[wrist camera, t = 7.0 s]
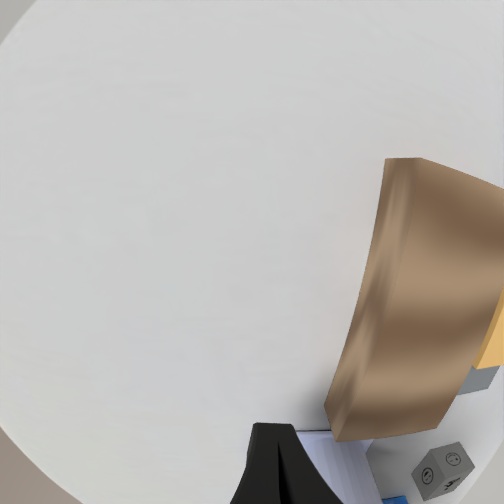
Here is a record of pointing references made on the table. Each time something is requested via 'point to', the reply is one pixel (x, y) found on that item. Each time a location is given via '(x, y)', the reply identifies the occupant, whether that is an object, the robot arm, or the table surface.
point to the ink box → (396, 500)
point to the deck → (419, 301)
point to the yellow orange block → (493, 340)
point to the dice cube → (442, 470)
